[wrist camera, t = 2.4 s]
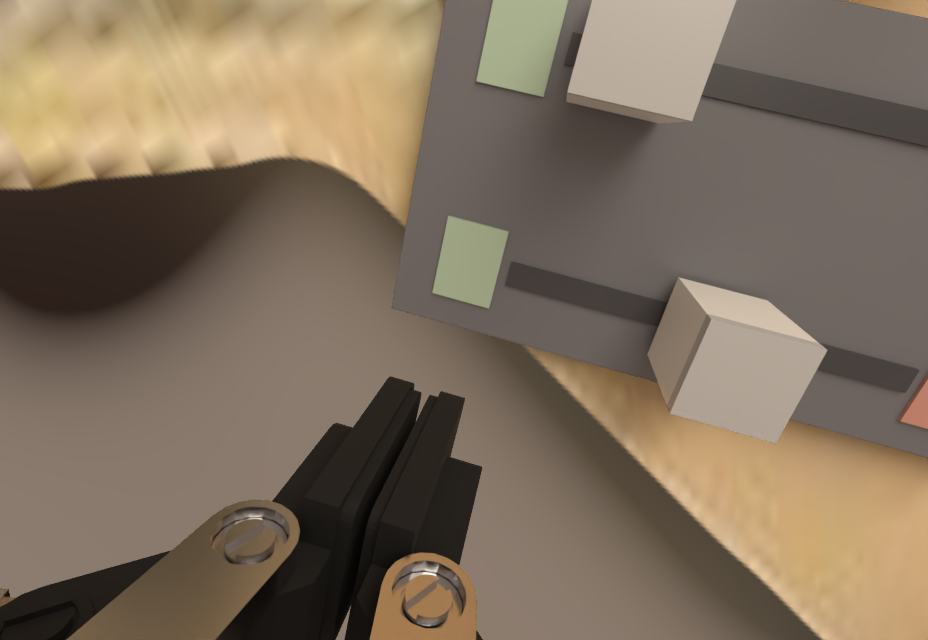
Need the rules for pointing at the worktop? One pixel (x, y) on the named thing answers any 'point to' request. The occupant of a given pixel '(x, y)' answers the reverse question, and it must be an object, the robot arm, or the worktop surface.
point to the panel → (687, 197)
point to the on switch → (648, 56)
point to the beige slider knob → (731, 360)
